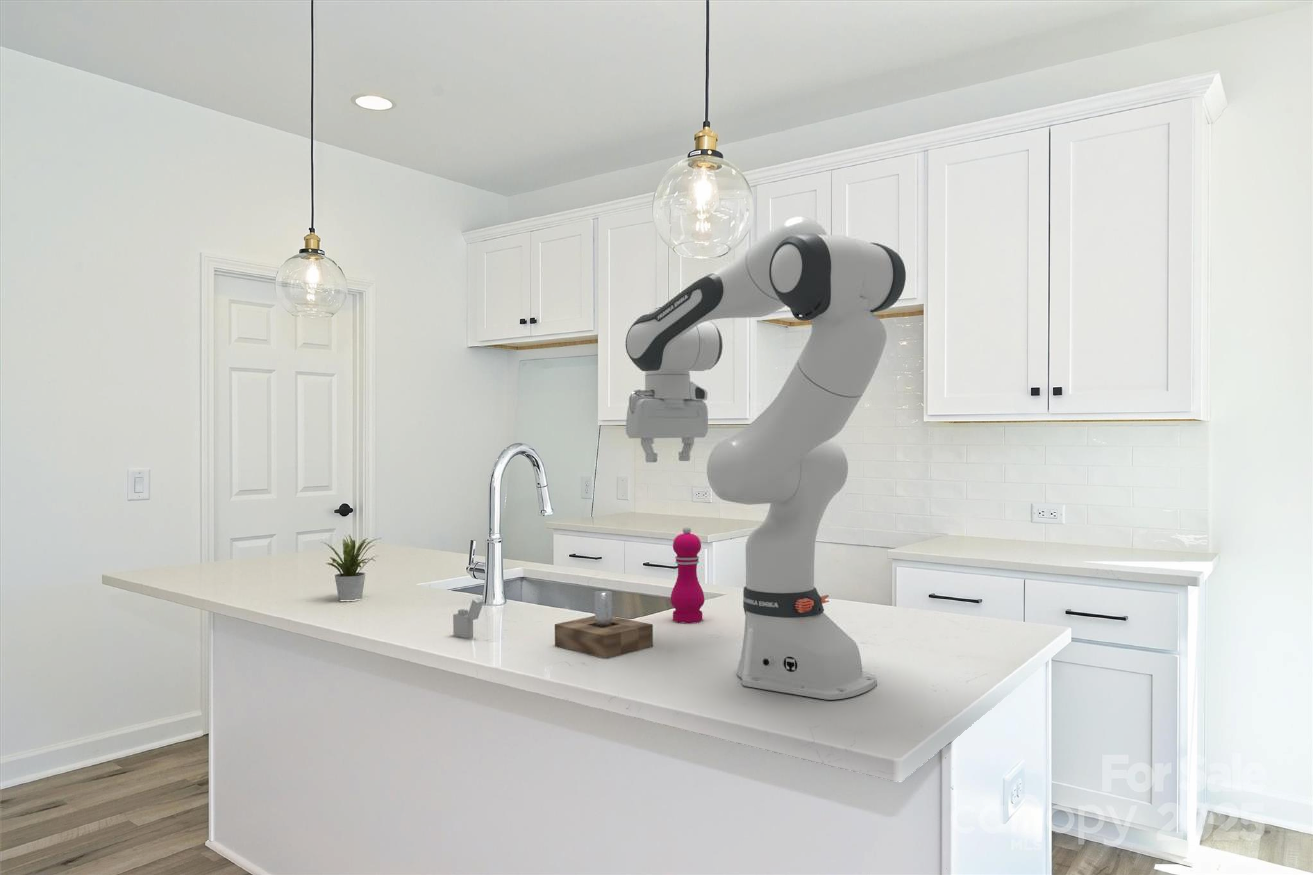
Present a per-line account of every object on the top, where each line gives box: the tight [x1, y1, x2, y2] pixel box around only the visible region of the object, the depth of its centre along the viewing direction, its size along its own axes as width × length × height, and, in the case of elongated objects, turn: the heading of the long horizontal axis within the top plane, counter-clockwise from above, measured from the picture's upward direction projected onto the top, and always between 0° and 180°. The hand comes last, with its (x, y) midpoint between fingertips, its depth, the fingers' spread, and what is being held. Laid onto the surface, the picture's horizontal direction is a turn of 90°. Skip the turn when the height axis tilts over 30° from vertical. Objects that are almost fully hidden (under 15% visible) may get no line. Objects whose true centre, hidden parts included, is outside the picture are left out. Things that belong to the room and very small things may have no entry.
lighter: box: [452, 597, 484, 640], centre depth 169 cm, size 7×2×8 cm, turn 55°
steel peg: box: [594, 590, 613, 628], centre depth 161 cm, size 3×3×10 cm
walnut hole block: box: [554, 615, 654, 659], centre depth 161 cm, size 14×12×4 cm
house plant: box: [321, 533, 382, 600], centre depth 209 cm, size 14×14×16 cm
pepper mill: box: [670, 525, 706, 624], centre depth 182 cm, size 7×7×20 cm
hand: (668, 461), depth 168 cm, fingers open, 8 cm apart
